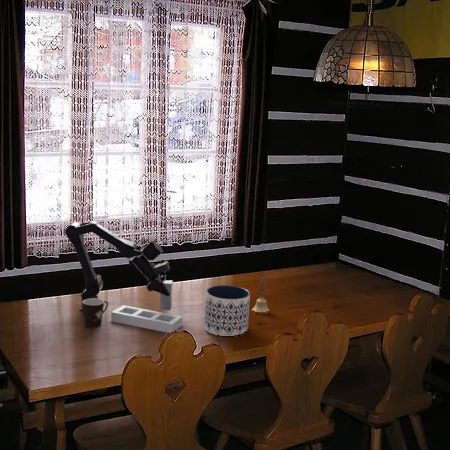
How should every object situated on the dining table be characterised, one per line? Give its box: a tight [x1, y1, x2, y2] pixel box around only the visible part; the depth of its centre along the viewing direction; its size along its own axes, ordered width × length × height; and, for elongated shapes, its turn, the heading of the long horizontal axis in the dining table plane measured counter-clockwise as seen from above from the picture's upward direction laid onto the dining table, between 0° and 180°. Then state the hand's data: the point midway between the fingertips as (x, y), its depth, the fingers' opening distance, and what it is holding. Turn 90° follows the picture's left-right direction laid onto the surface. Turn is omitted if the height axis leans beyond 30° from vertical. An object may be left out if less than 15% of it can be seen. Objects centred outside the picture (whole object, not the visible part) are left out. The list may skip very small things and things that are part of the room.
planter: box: [203, 284, 251, 337], centre depth 287 cm, size 18×18×16 cm
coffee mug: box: [83, 298, 109, 329], centre depth 284 cm, size 12×9×10 cm
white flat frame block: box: [110, 304, 183, 334], centre depth 289 cm, size 28×10×4 cm, turn 69°
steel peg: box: [159, 279, 174, 311], centre depth 298 cm, size 4×4×12 cm
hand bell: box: [251, 277, 270, 312], centre depth 311 cm, size 8×8×16 cm
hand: (169, 293), depth 298 cm, fingers closed on steel peg, 4 cm apart
